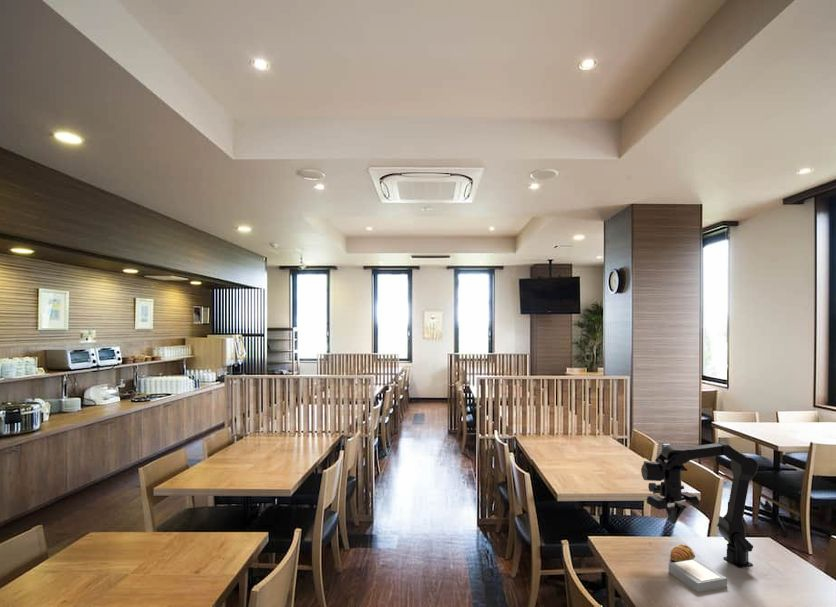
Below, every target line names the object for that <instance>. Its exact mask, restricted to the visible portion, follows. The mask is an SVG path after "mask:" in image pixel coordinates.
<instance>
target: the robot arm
mask: <svg viewBox="0 0 836 607" xmlns="http://www.w3.org/2000/svg"><path fill="white" fill-rule="evenodd" d="M721 456H722V457H723V456H724V457H725V458H727V459H728V460H729V461H730V469H731V472H732V477H733V478H732V482H731V488H730V492H729V500H728V504H727V512H726V514H725V515H724V516H721V515H719V516H718V522H717V524H716V527H718V532H719V533H720V534H721V535H722V536H723V539H724V540H726V541H727V544H726V556H723V559H724V560H725V561H727V562H728V563H731V565H734V566H735V567H737V568H740V569H741V568H747V567H753V566H754V565H753V563H752V562H750V561H749V552H750V553H751V552H752V551H753V548H754V545H753V544H752V543H751V542H750V541H749V540H748V539H747V538H746V527H745V524H744V521H743V520H744V512H745V507H746V503H747V496H748V492H749V487H750V481H752V480H753V478H755V476H756V474H757V471H758V470H759V464H758V461H756V460H755V459H754V458H753V457H751V456H748V455H747V454H745V453H743V452H740V451H738V450H736V449H735V448H733V447H732V446H731V445H729V444H728V443H725V442H722V441H718V442H715V443H709V444H700V445H693V446H680V445H665V446H663V448H662V449H661V451H660V453H659V455H658V456H657V457H656V458H655V460H654V461H646V460H644V461H643V465H642V466H641V469H640V471H641V476H642V479H643V480H644V481H651V482H648V485H647V486H648V491H649V492H651V493H652V494H653V495H648V496H647V497H646V504H648V505H650V506H651V507H653V508H655V509H657V510H665V511H666V513H667V516H668V519H669V521H670V523H671V524H673V525H675V524H676V523H677V522H678V519H679V518H680V516H681V514H682V513H683V512H684V510H685V509H687V506H686V505H685V504H684V502H689V503H690V505H691V506H699V498H698V496H696V495H695V494H693V493H690V492H688V491H682V490H685V486H684V485H682V472H688V470H689V469H688V468H686V466H684V464H687V463H689V462H690V461H692V460H698V459H705V458H706V459H707V458H713V457H721ZM653 481H654V482H653ZM656 482H660V483H659V484H658V483H657V484H656ZM656 494H659V496H658V495H656ZM660 496H661V497H660Z"/></svg>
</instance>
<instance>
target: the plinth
mask: <svg viewBox="0 0 836 607" xmlns="http://www.w3.org/2000/svg"><path fill="white" fill-rule="evenodd" d="M668 573H670V574H671V575H672V576H674V577H675V578H677V579H678V580H680V582H682V583H684V584H685V585H687V586H688V587H690V588H691V589H692V590H694V591H695V592H697V593H703V592H706V591H707V592H708V591H712V590H713V591H714V590H718V589H724V588H727V587H728V579H727V577H726V576H724V575H722V573H719V572H717V571H716V570H715V569H713V568H711V567H710V566H708V565H706V564H705V563H703V562H702V561H700V560H699V559H697V558H694V559H693V560H686V561H680V562H676V561H674V562H669V563H668Z"/></svg>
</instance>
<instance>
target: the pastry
mask: <svg viewBox="0 0 836 607" xmlns="http://www.w3.org/2000/svg"><path fill="white" fill-rule="evenodd" d="M669 557H670V560H672V561H674V562H680V561H686V560H693V559H696V555H695V553H694V551H693V550H692V548H691V547H689V545H687V544H679V545H677V546H674V547H673V548H672V549H671V551H670V554H669Z"/></svg>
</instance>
